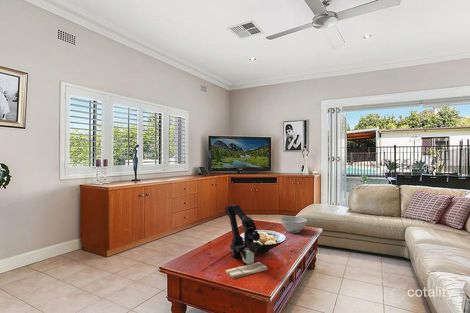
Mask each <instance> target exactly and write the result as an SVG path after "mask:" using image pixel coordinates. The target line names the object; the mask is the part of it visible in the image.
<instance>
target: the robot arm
mask: <svg viewBox="0 0 470 313" xmlns="http://www.w3.org/2000/svg"><path fill="white" fill-rule="evenodd" d="M224 210H225V214H226V216H227V217H228V218H229V222H230V223H229V224H230V227H231V231H232V239H231V244H230V245H229V247H230V249H231V250H232V254H230V257H233V259H239V258H243V257H244V260H246V252H247V251H246V250H250V251H251V252H253V253H254V254H255V252H256V251H257V250H258V249H261V248H262V245H261V243H260V242H258V241H260V239H261V235H260V233H259V231H258V230H257V226H256V224H255V221H254V220H253V219H252V218H251V217H250V216H248V215H247V214H246V213H245V212H244V211H243V209H242V208H241V205H239V204H233V205H226V207H225V208H224ZM236 215H237V216H238V218H239V219H240V220H241V224H242V227H243V228H242V230H243V232H244V233H243V236H244V237H243V236H241V235H240V230H239V226H238V221H237V217H236Z"/></svg>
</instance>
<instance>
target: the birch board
mask: <svg viewBox="0 0 470 313" xmlns="http://www.w3.org/2000/svg"><path fill="white" fill-rule="evenodd" d="M268 269H269V268H268V266H267V265H265V264H263V263H261V262H260V261H257V262H254V263H251V264H245V265H242V266H237V267H233V268H229V269H225V274H227V275H228V276H229V277H230V278H232V279H234V280H235V279H237V278H241V277H245V276H248V275H253V274H256V273H259V272H263V271H267V270H268Z"/></svg>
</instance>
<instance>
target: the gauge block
mask: <svg viewBox="0 0 470 313" xmlns="http://www.w3.org/2000/svg"><path fill="white" fill-rule="evenodd" d="M246 251H247V252H246V260H244V257H243V256H242V261H243V262H244V263H245V264H246V265H249V264H253V263H255V252H254V253H253V252H251V251H250V249H246Z"/></svg>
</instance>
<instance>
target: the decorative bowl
mask: <svg viewBox="0 0 470 313" xmlns="http://www.w3.org/2000/svg"><path fill="white" fill-rule="evenodd" d="M280 222H281V223H280V224H281V225H282V226H283V228H284V229H286V230H287V232H288V233H294V234H296V233H300V232H301V231H302V230H303V229H304V228H305V227H306V225H307V222H308V219H306V218H304V217H302V216H295V215H293V216H291V215H290V216H289V215H287V216H283V217H280Z"/></svg>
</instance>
